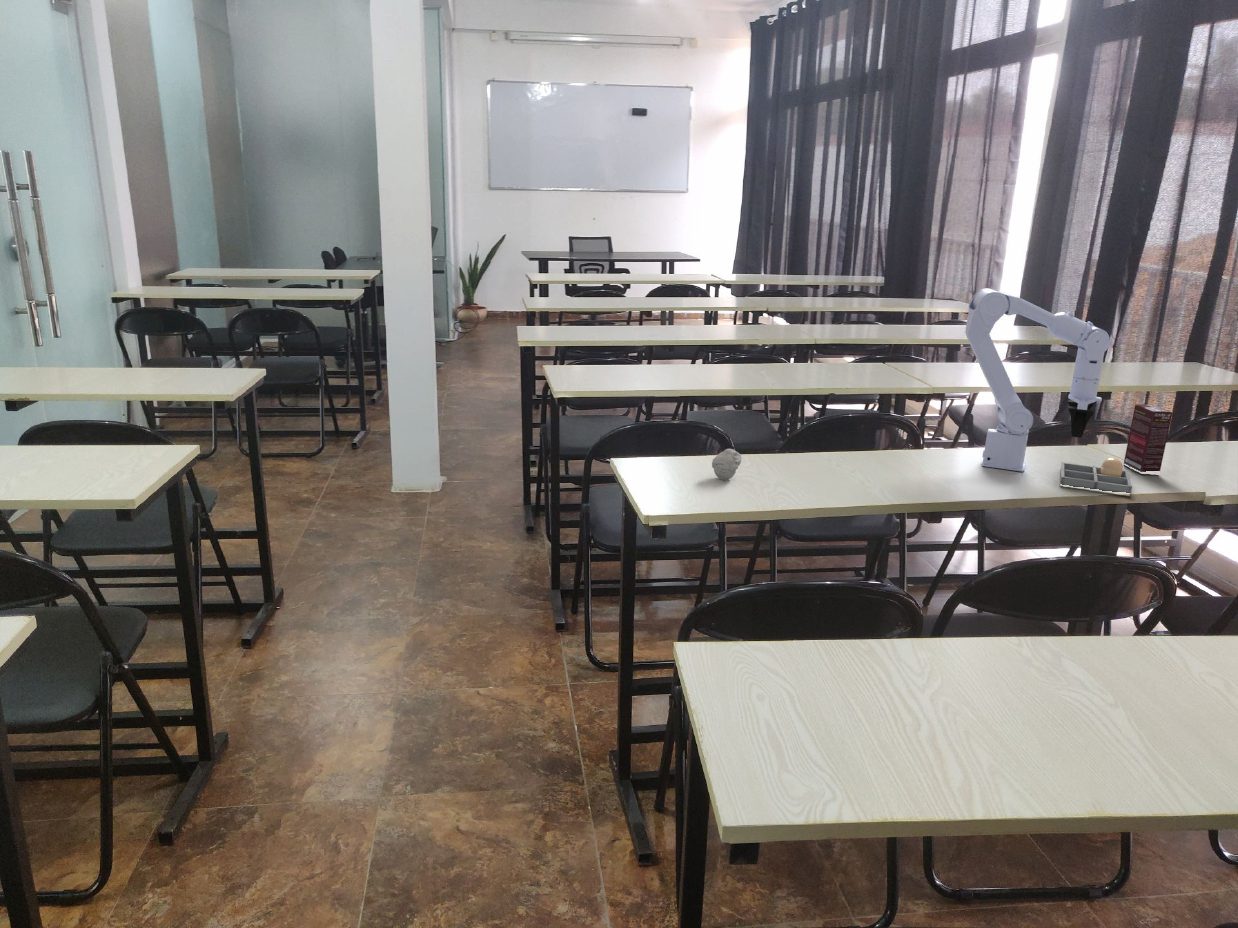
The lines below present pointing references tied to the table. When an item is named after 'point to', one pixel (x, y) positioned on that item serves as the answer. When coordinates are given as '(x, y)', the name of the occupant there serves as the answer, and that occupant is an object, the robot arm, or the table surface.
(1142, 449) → the supplement box
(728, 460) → the grey rounded lump
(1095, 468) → the gray divided compartment tray
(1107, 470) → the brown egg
